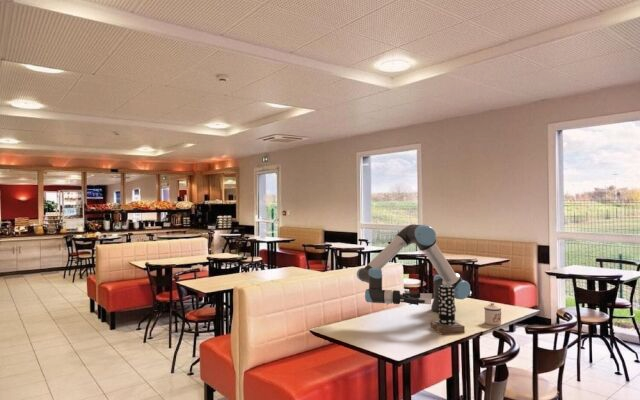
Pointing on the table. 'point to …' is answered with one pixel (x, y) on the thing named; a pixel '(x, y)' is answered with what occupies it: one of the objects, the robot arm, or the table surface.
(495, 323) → the teacup with lid
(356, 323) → the table surface
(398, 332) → the table surface
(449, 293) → the white-spotted black cylinder
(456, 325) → the plinth
